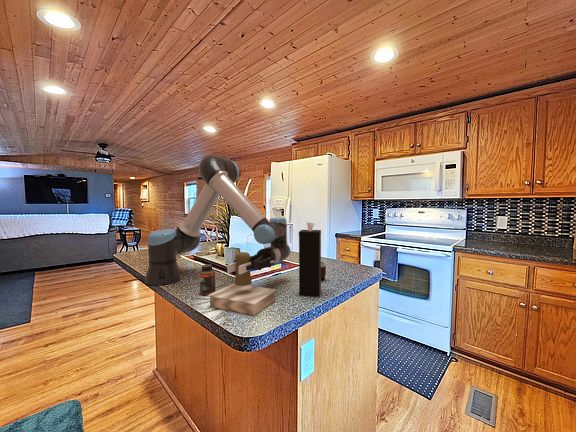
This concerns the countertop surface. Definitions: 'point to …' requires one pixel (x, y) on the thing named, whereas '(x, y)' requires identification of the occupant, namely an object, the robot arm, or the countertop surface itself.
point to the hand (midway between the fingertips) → (233, 269)
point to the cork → (245, 277)
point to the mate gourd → (323, 271)
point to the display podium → (242, 298)
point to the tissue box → (310, 261)
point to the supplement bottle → (207, 280)
